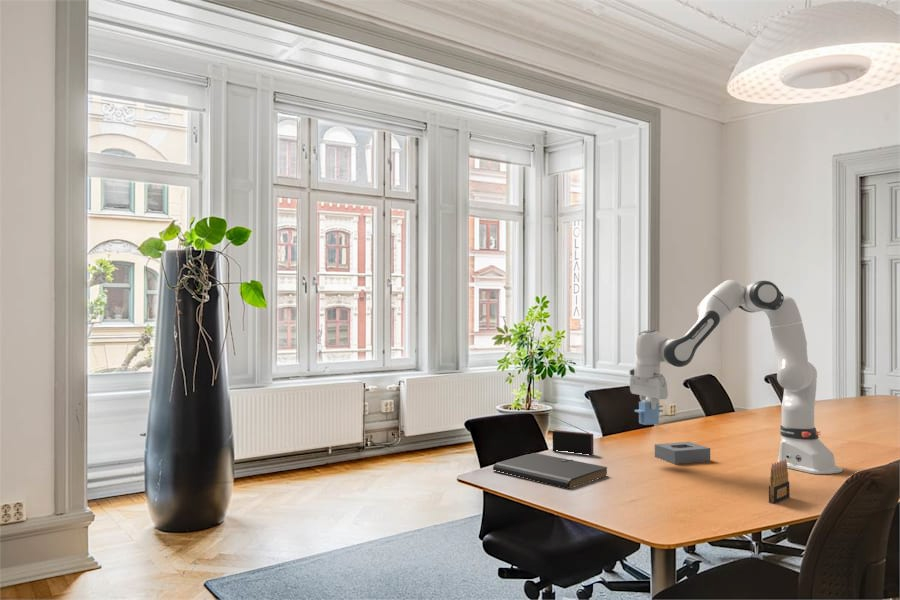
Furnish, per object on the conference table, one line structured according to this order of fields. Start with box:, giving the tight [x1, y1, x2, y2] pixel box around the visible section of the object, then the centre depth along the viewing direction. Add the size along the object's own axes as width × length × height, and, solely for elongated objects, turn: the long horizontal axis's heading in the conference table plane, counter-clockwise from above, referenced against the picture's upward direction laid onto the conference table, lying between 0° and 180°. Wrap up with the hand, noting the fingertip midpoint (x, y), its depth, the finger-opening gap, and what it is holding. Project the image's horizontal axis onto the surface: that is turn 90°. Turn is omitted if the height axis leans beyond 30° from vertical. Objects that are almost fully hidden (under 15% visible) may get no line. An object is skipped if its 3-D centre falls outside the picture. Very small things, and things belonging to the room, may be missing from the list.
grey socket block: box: [654, 441, 711, 465], centre depth 261 cm, size 13×16×5 cm
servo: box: [634, 399, 664, 426], centre depth 257 cm, size 4×12×9 cm, turn 107°
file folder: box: [492, 452, 608, 490], centre depth 239 cm, size 33×4×24 cm
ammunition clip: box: [768, 459, 791, 505], centre depth 205 cm, size 11×2×12 cm, turn 131°
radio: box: [548, 414, 595, 456], centre depth 273 cm, size 19×3×15 cm, turn 59°
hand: (648, 408), depth 256 cm, fingers closed on servo, 4 cm apart
